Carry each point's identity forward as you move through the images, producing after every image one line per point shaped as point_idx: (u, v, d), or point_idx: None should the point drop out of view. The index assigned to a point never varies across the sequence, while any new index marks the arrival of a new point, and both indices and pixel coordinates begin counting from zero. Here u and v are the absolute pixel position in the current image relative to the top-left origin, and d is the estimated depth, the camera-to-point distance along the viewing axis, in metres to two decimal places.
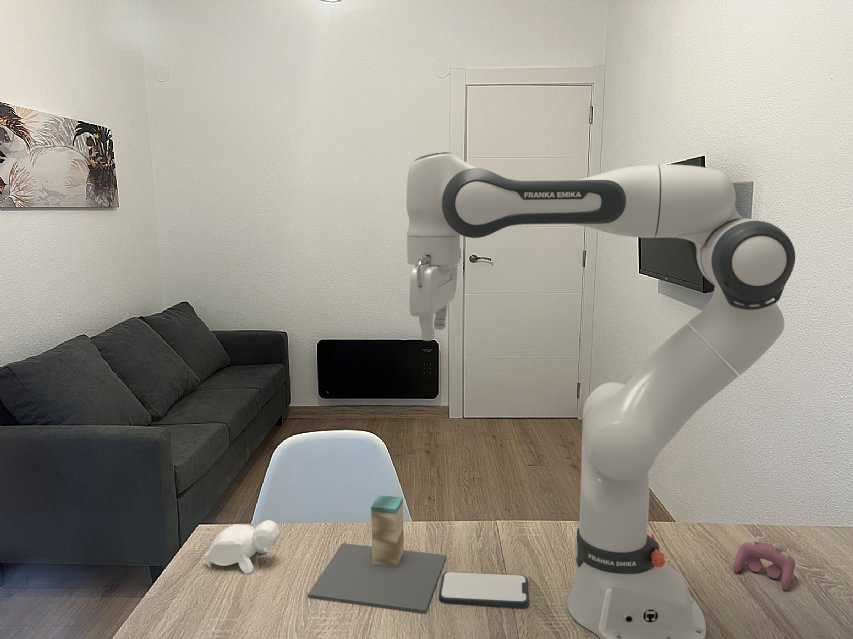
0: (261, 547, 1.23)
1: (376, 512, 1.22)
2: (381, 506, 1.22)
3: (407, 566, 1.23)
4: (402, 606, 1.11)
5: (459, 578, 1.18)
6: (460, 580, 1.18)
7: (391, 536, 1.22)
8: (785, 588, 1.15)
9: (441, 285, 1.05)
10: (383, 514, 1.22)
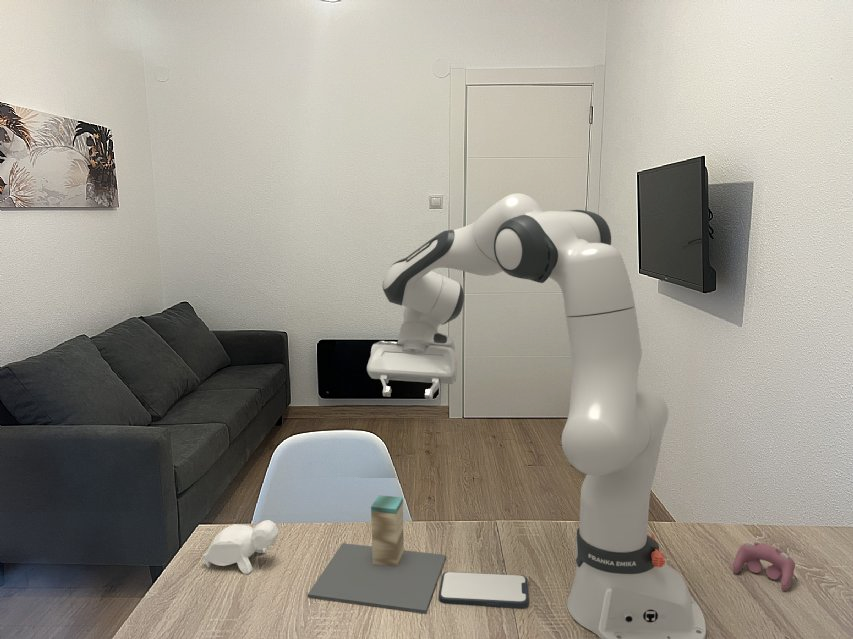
0: (260, 547, 1.23)
1: (376, 512, 1.22)
2: (381, 506, 1.22)
3: (407, 566, 1.23)
4: (402, 606, 1.11)
5: (459, 578, 1.18)
6: (459, 580, 1.18)
7: (391, 536, 1.22)
8: (785, 589, 1.14)
9: (406, 358, 1.41)
10: (383, 514, 1.22)
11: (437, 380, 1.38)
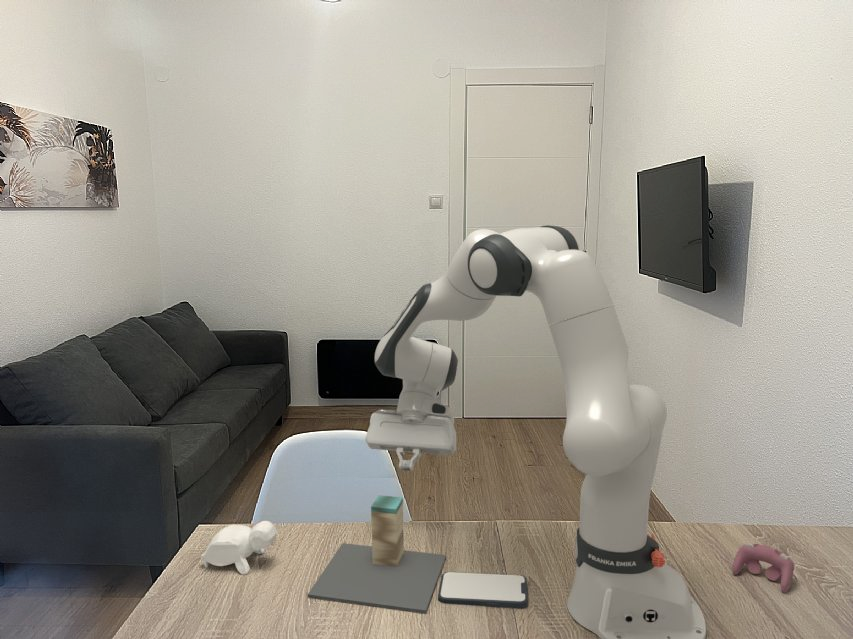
0: (258, 548, 1.23)
1: (376, 512, 1.22)
2: (381, 506, 1.22)
3: (407, 566, 1.23)
4: (402, 606, 1.11)
5: (458, 578, 1.18)
6: (459, 580, 1.18)
7: (391, 536, 1.22)
8: (784, 590, 1.14)
9: (404, 429, 1.40)
10: (383, 514, 1.22)
11: (418, 451, 1.38)
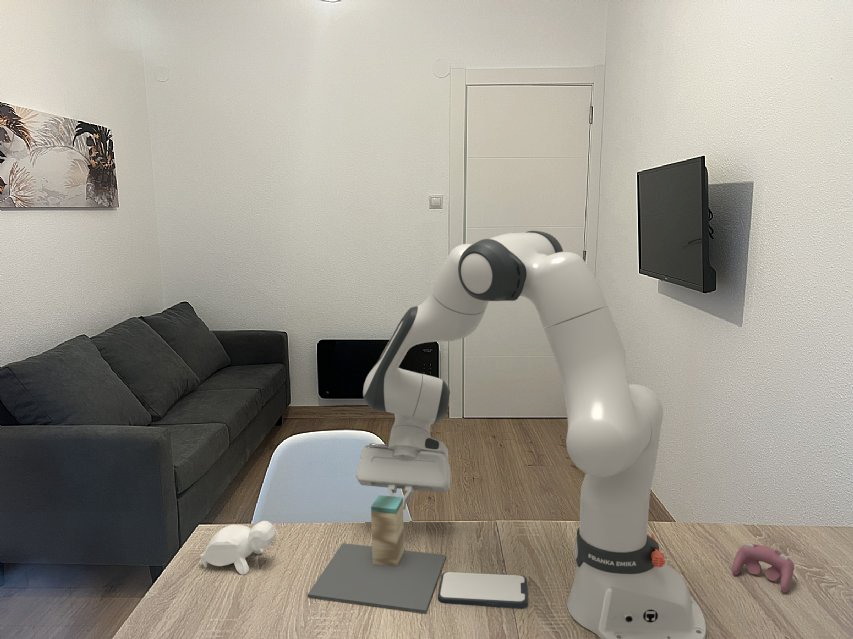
0: (257, 548, 1.23)
1: (376, 512, 1.22)
2: (381, 506, 1.22)
3: (407, 566, 1.23)
4: (402, 606, 1.11)
5: (458, 578, 1.18)
6: (459, 580, 1.18)
7: (391, 536, 1.22)
8: (784, 591, 1.14)
9: (396, 465, 1.35)
10: (383, 514, 1.22)
11: (410, 488, 1.32)
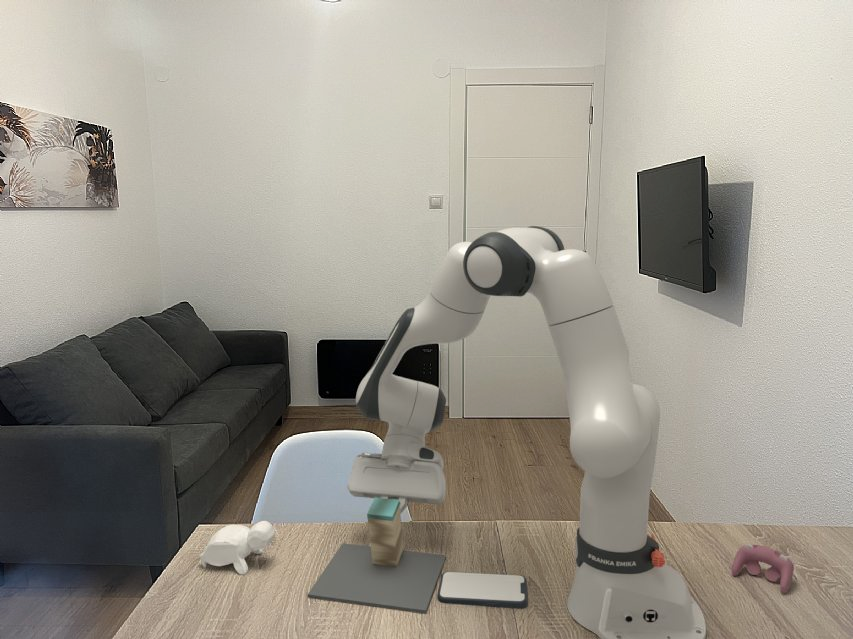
0: (256, 548, 1.23)
1: (372, 519, 1.20)
2: (377, 513, 1.20)
3: (407, 566, 1.23)
4: (402, 606, 1.11)
5: (458, 578, 1.18)
6: (458, 580, 1.18)
7: (389, 540, 1.21)
8: (784, 591, 1.14)
9: (390, 476, 1.30)
10: (380, 521, 1.20)
11: (404, 500, 1.27)
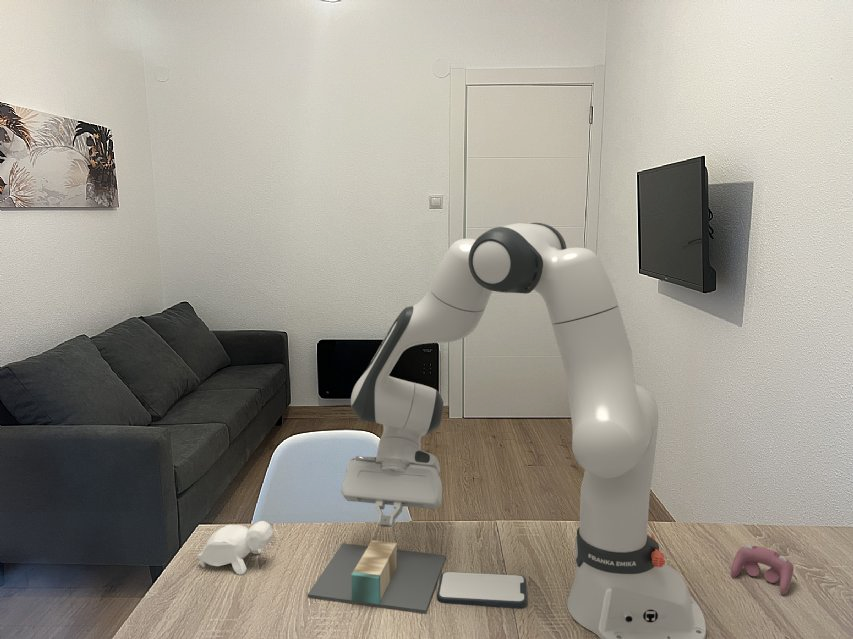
0: (254, 548, 1.23)
1: None
2: (362, 599, 1.12)
3: (407, 566, 1.23)
4: (402, 606, 1.11)
5: (457, 578, 1.18)
6: (458, 580, 1.18)
7: None
8: (783, 593, 1.13)
9: (384, 480, 1.27)
10: None
11: (399, 505, 1.24)
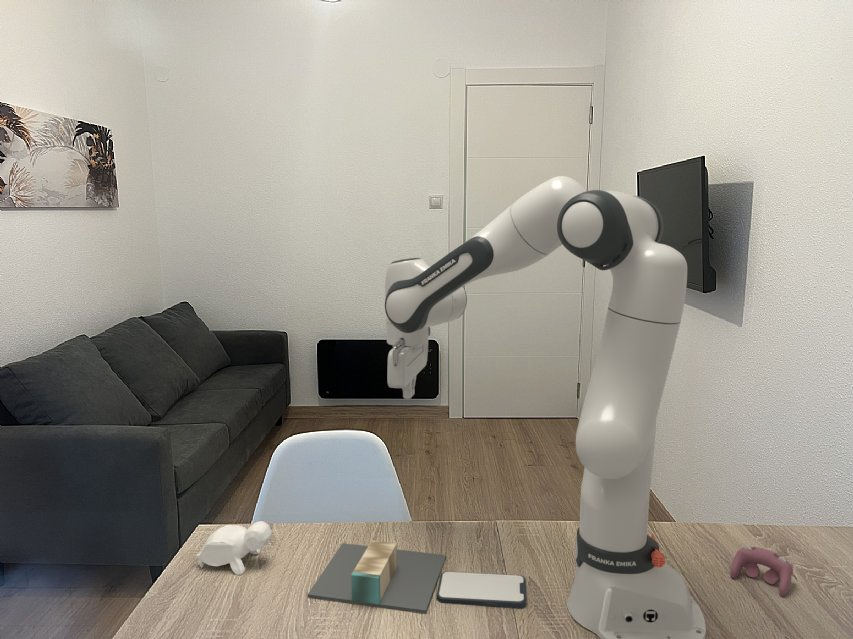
0: (253, 548, 1.23)
1: None
2: (362, 599, 1.12)
3: (407, 566, 1.23)
4: (402, 606, 1.11)
5: (457, 578, 1.18)
6: (458, 580, 1.18)
7: None
8: (783, 594, 1.13)
9: (413, 360, 1.34)
10: None
11: (415, 376, 1.38)
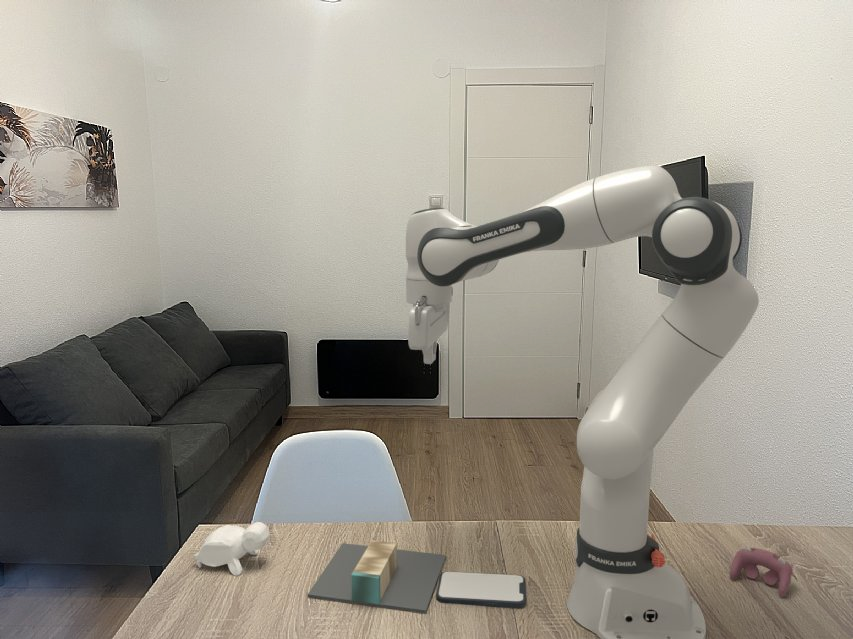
0: (250, 549, 1.22)
1: None
2: (362, 599, 1.12)
3: (407, 566, 1.23)
4: (402, 606, 1.11)
5: (457, 578, 1.18)
6: (457, 580, 1.18)
7: None
8: (783, 595, 1.13)
9: (435, 321, 1.22)
10: None
11: (436, 340, 1.26)
